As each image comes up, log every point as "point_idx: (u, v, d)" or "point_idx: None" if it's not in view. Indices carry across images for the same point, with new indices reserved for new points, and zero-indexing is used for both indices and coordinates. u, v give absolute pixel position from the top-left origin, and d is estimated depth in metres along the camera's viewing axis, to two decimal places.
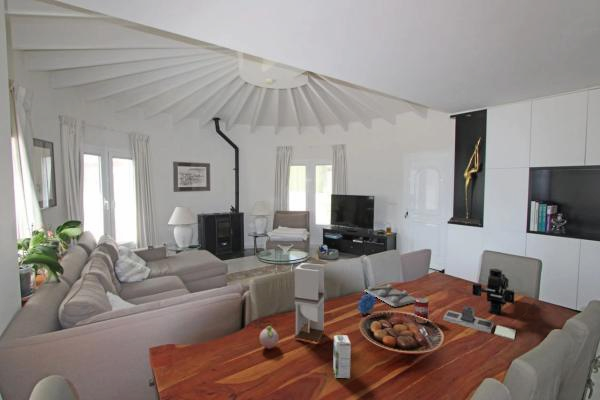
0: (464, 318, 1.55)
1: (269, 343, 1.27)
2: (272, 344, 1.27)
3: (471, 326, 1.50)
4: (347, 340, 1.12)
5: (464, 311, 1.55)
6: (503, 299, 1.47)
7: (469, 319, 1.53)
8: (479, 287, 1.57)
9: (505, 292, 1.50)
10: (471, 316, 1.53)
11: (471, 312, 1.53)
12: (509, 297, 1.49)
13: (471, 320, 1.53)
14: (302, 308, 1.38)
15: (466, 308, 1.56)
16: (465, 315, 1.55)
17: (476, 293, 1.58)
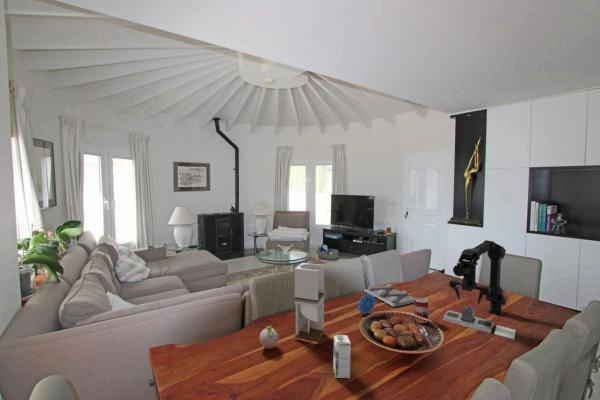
0: (464, 318, 1.55)
1: (269, 343, 1.27)
2: (272, 344, 1.27)
3: (471, 326, 1.50)
4: (347, 340, 1.12)
5: (464, 311, 1.55)
6: None
7: (469, 319, 1.53)
8: (455, 289, 1.57)
9: (480, 294, 1.50)
10: (471, 316, 1.53)
11: (471, 312, 1.53)
12: None
13: (471, 320, 1.53)
14: (302, 308, 1.38)
15: (466, 308, 1.56)
16: (465, 315, 1.55)
17: None
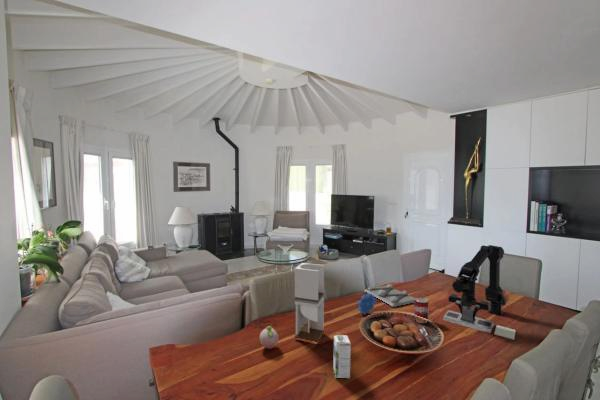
0: (464, 318, 1.55)
1: (269, 343, 1.27)
2: (272, 344, 1.27)
3: (471, 326, 1.50)
4: (347, 340, 1.12)
5: (464, 311, 1.55)
6: (475, 315, 1.54)
7: (469, 319, 1.53)
8: (459, 305, 1.57)
9: (475, 309, 1.52)
10: (471, 316, 1.53)
11: (471, 312, 1.53)
12: None
13: (471, 320, 1.53)
14: (302, 308, 1.38)
15: (466, 308, 1.56)
16: (465, 314, 1.55)
17: None
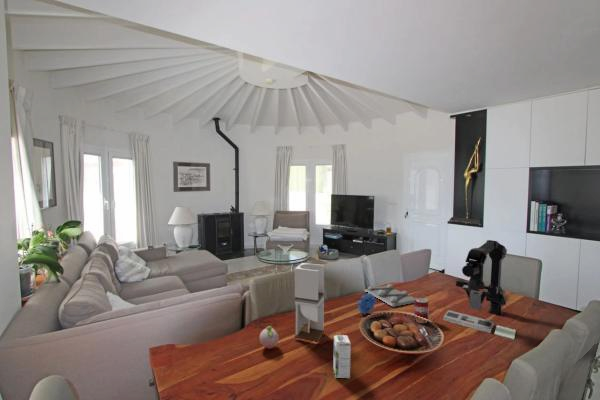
0: (472, 303, 1.52)
1: (269, 343, 1.27)
2: (272, 344, 1.27)
3: (471, 326, 1.50)
4: (347, 340, 1.12)
5: (472, 295, 1.52)
6: (483, 300, 1.51)
7: (477, 303, 1.51)
8: (466, 290, 1.54)
9: (483, 293, 1.49)
10: (479, 300, 1.50)
11: (479, 297, 1.50)
12: None
13: (479, 304, 1.50)
14: (302, 308, 1.38)
15: (474, 292, 1.53)
16: (472, 299, 1.52)
17: None
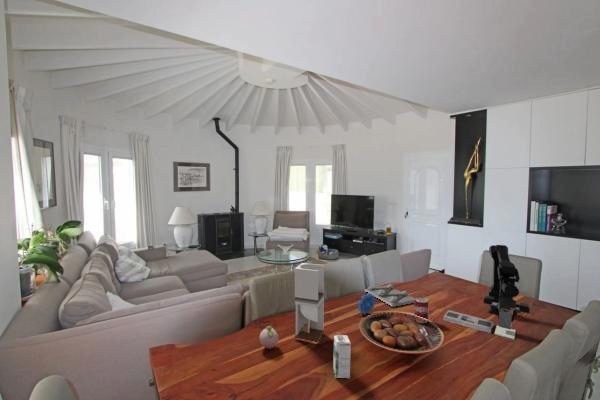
0: (502, 321, 1.44)
1: (269, 343, 1.27)
2: (272, 344, 1.27)
3: (471, 326, 1.50)
4: (347, 340, 1.12)
5: (501, 314, 1.44)
6: (513, 318, 1.43)
7: (507, 322, 1.43)
8: (495, 307, 1.46)
9: (514, 312, 1.41)
10: (509, 319, 1.42)
11: (510, 315, 1.42)
12: None
13: (509, 323, 1.42)
14: (302, 308, 1.38)
15: (503, 310, 1.45)
16: (502, 317, 1.44)
17: None
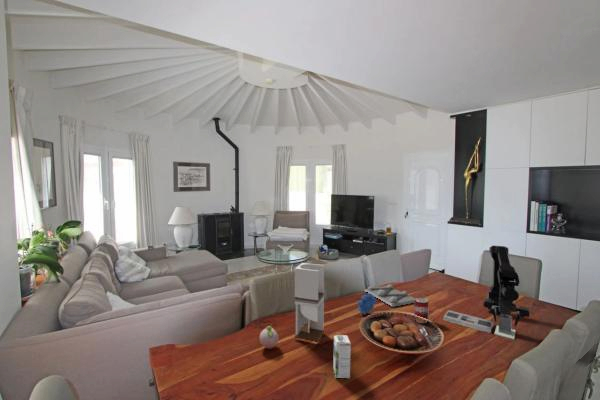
0: (502, 327, 1.44)
1: (269, 343, 1.27)
2: (272, 344, 1.27)
3: (471, 326, 1.50)
4: (347, 340, 1.12)
5: (501, 319, 1.44)
6: (516, 323, 1.43)
7: (507, 328, 1.43)
8: (492, 310, 1.47)
9: (518, 316, 1.40)
10: (509, 325, 1.42)
11: (509, 321, 1.42)
12: None
13: (509, 329, 1.42)
14: (302, 308, 1.38)
15: (503, 316, 1.45)
16: (502, 323, 1.44)
17: None
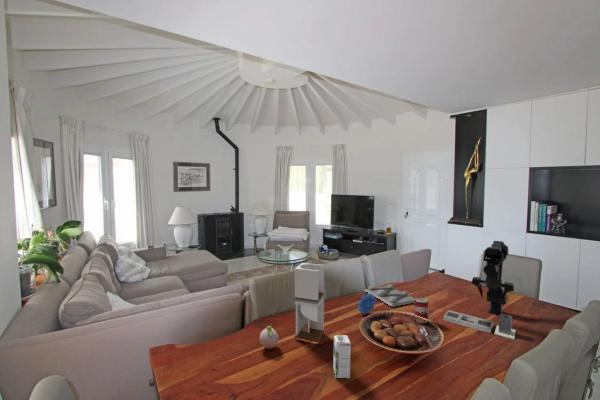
0: (502, 327, 1.44)
1: (269, 343, 1.27)
2: (272, 344, 1.27)
3: (471, 326, 1.50)
4: (347, 340, 1.12)
5: (501, 319, 1.44)
6: (503, 298, 1.53)
7: (507, 328, 1.43)
8: (479, 287, 1.58)
9: (504, 291, 1.51)
10: (509, 325, 1.42)
11: (509, 321, 1.42)
12: None
13: (509, 329, 1.42)
14: (302, 308, 1.38)
15: (503, 316, 1.45)
16: (502, 323, 1.44)
17: None
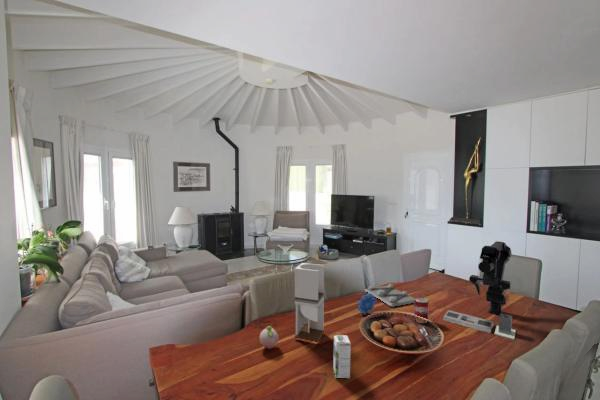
0: (502, 327, 1.44)
1: (269, 343, 1.27)
2: (272, 344, 1.27)
3: (471, 326, 1.50)
4: (347, 340, 1.12)
5: (501, 319, 1.44)
6: (500, 296, 1.55)
7: (507, 328, 1.43)
8: (476, 284, 1.61)
9: (501, 289, 1.53)
10: (509, 325, 1.42)
11: (509, 321, 1.42)
12: None
13: (509, 329, 1.42)
14: (302, 308, 1.38)
15: (503, 316, 1.45)
16: (502, 323, 1.44)
17: None
